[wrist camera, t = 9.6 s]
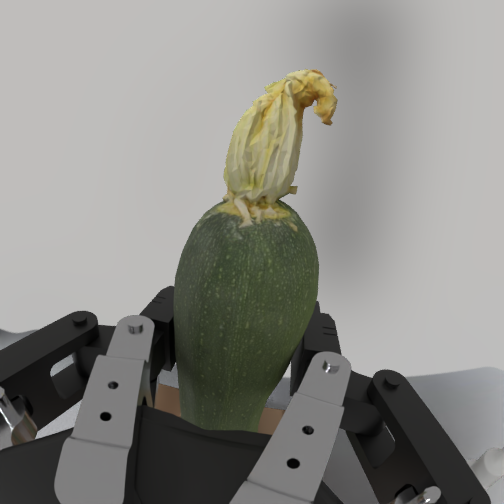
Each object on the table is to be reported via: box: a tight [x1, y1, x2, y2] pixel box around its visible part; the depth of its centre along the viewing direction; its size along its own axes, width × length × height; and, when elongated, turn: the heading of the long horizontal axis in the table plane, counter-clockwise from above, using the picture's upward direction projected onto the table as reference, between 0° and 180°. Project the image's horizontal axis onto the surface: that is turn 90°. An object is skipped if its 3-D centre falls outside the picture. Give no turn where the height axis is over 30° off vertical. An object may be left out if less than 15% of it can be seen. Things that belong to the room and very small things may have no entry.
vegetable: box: [173, 69, 337, 433], centre depth 10 cm, size 4×4×20 cm
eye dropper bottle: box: [466, 448, 504, 490], centre depth 9 cm, size 4×6×12 cm
